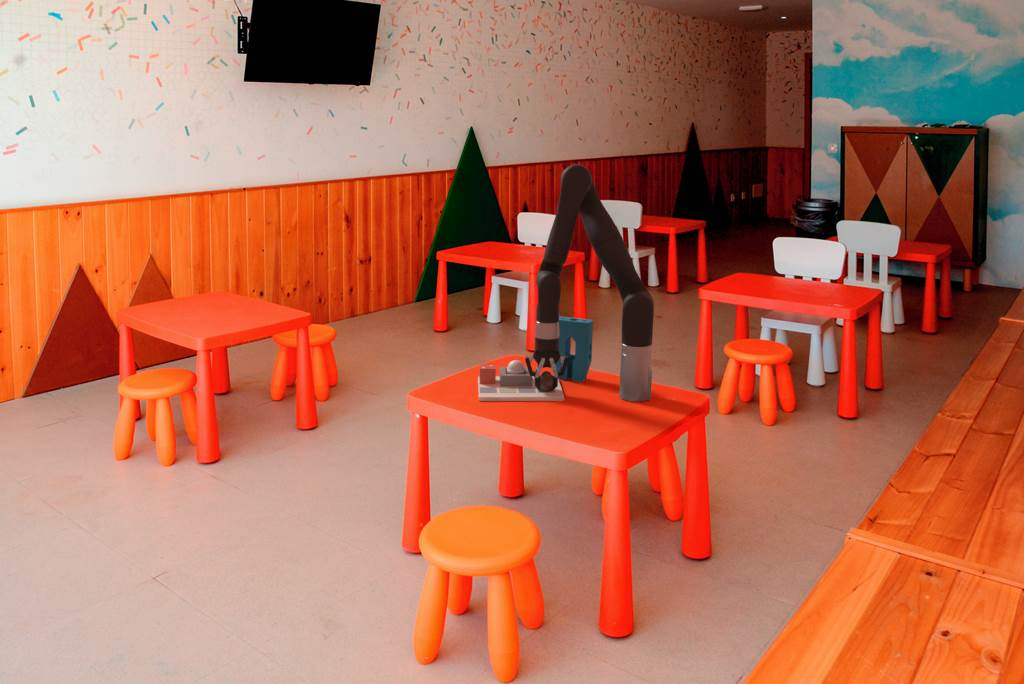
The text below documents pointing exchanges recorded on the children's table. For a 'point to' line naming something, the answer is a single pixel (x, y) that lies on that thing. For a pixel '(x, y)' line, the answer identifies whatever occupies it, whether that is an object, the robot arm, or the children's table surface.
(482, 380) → the die
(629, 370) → the robot arm
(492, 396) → the game board
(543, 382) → the pawn
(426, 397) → the children's table surface
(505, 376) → the dome housing
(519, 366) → the dome
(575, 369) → the block
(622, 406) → the children's table surface
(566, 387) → the children's table surface
